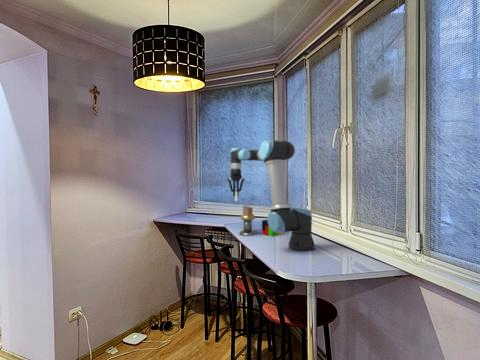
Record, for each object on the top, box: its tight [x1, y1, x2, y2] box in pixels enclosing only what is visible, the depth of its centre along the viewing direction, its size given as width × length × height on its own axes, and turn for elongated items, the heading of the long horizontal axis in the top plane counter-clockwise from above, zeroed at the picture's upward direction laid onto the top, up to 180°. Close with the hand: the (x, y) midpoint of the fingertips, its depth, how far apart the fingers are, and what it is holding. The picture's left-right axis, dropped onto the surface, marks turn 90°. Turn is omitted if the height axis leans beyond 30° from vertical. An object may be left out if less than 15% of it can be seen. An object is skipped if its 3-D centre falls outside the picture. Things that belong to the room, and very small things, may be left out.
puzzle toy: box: [261, 219, 283, 237], centre depth 224 cm, size 10×10×10 cm
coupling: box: [240, 205, 256, 221], centre depth 225 cm, size 17×10×9 cm, turn 12°
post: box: [238, 220, 257, 237], centre depth 225 cm, size 12×12×11 cm
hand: (236, 200), depth 230 cm, fingers closed
